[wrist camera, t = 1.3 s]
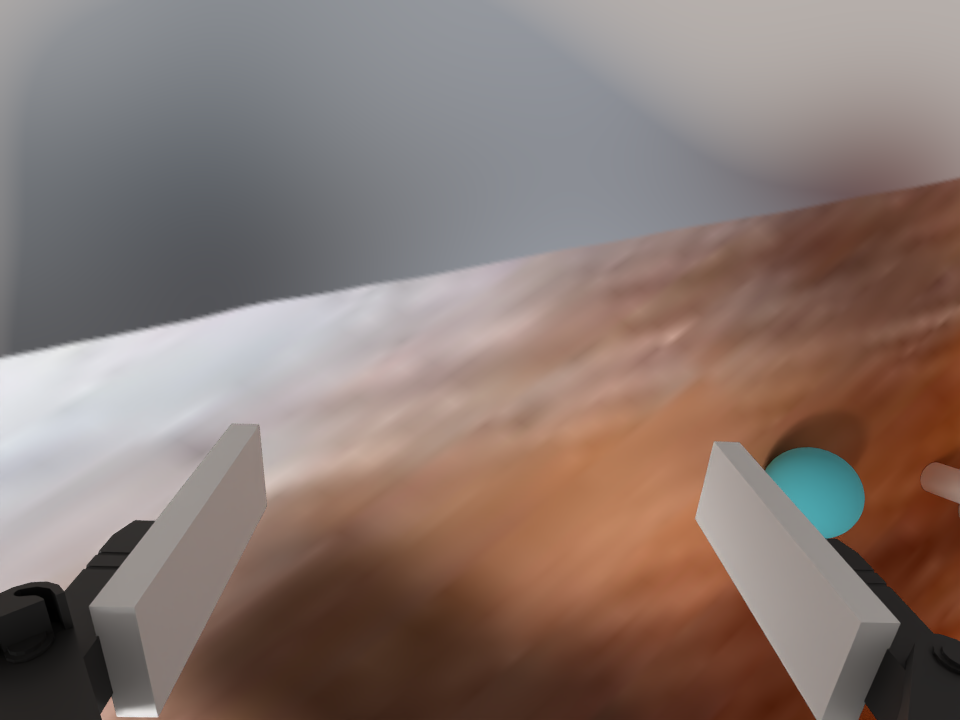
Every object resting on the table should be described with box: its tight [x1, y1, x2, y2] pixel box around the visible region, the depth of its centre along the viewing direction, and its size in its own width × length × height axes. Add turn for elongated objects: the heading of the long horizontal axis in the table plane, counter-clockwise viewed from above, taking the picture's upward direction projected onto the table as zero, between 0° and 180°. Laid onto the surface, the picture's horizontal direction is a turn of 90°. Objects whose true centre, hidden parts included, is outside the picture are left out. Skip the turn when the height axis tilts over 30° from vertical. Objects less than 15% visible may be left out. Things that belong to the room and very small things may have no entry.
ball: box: [765, 447, 865, 539], centre depth 38 cm, size 6×6×6 cm
